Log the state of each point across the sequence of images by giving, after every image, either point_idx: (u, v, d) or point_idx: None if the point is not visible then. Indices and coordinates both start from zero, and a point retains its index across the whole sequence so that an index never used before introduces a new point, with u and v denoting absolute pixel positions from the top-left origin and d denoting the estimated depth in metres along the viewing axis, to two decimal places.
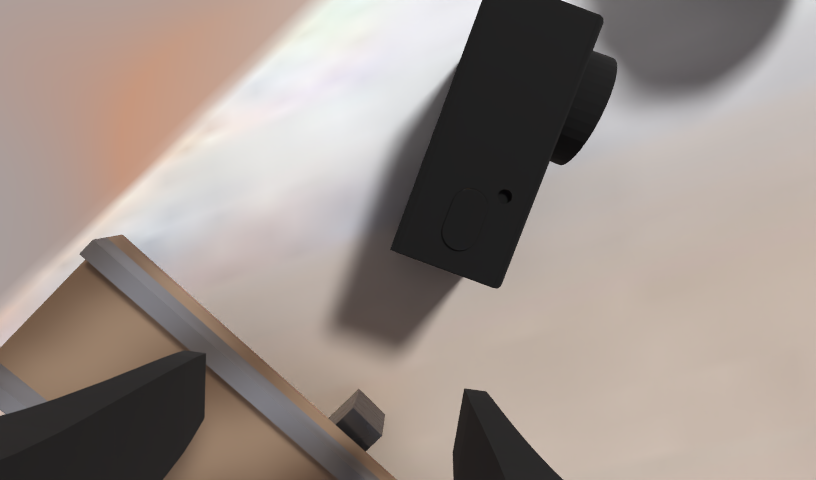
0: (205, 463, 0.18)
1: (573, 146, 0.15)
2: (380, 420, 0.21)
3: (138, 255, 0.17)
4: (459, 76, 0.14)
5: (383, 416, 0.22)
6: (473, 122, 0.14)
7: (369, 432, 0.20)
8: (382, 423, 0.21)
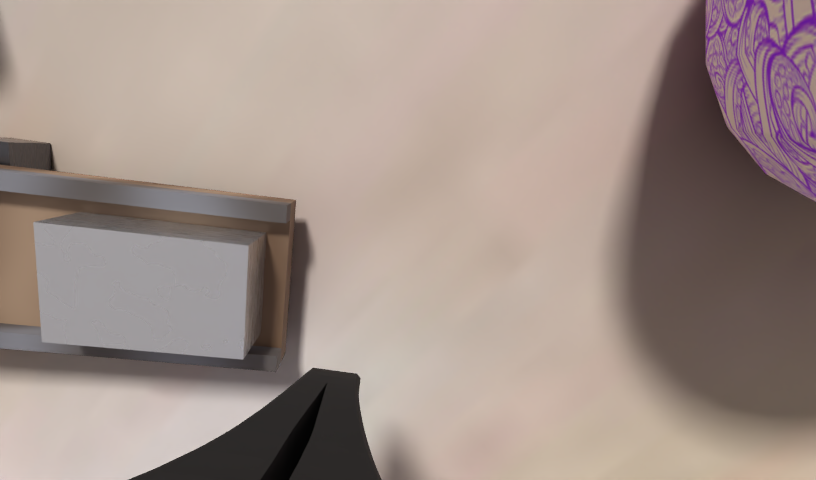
0: None
1: None
2: (27, 142, 0.19)
3: None
4: None
5: (43, 143, 0.20)
6: None
7: None
8: (29, 142, 0.19)
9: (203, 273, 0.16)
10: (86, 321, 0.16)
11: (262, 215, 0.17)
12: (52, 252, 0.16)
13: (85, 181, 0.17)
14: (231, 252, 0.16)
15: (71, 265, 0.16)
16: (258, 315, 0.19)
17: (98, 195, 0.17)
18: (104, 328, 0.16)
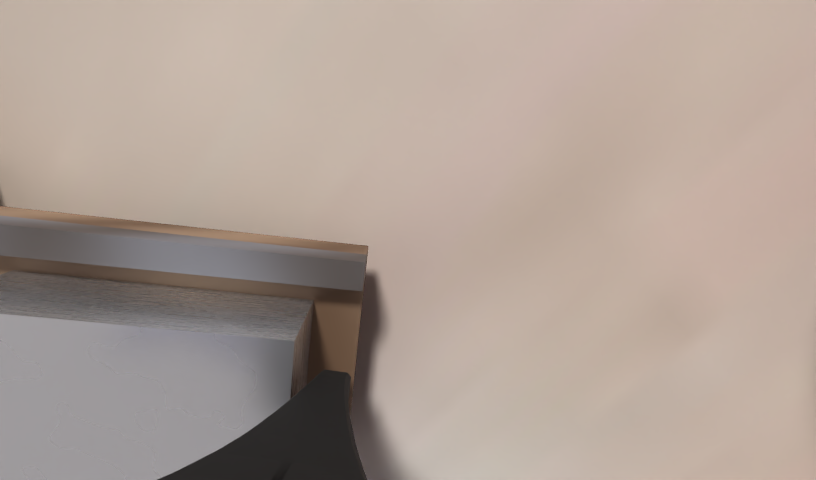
0: None
1: None
2: None
3: None
4: None
5: None
6: None
7: None
8: None
9: (215, 388, 0.09)
10: (11, 469, 0.09)
11: (325, 278, 0.11)
12: None
13: (29, 226, 0.10)
14: (264, 352, 0.09)
15: None
16: None
17: (51, 250, 0.10)
18: (44, 479, 0.10)
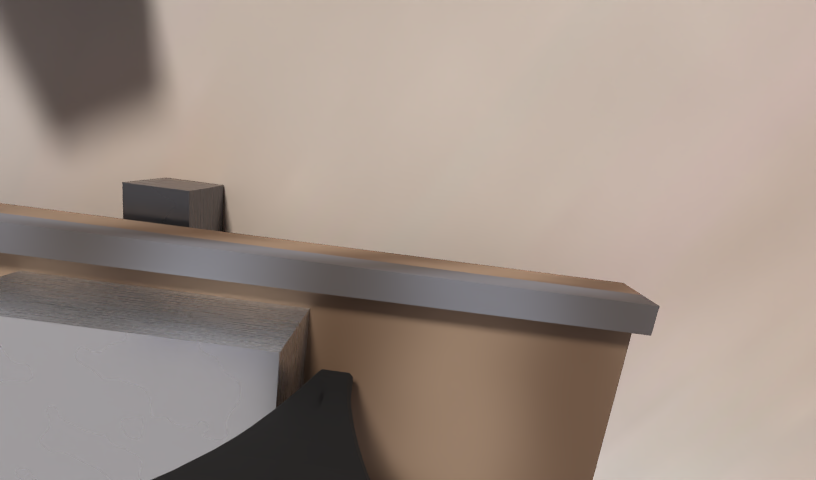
0: None
1: None
2: (202, 186, 0.13)
3: None
4: None
5: (217, 185, 0.14)
6: None
7: (171, 199, 0.12)
8: (205, 187, 0.13)
9: (199, 398, 0.09)
10: (5, 469, 0.10)
11: (614, 321, 0.10)
12: None
13: (329, 263, 0.10)
14: (248, 363, 0.09)
15: None
16: None
17: (348, 286, 0.10)
18: None
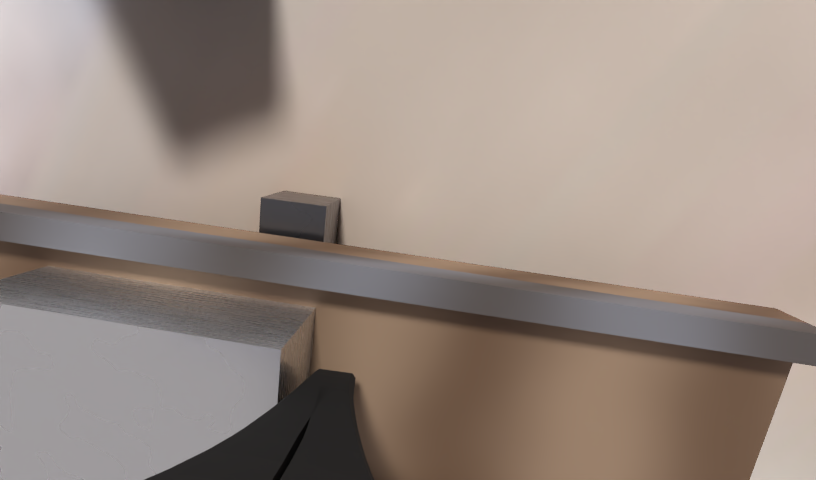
0: None
1: None
2: (327, 200, 0.13)
3: None
4: None
5: (336, 199, 0.14)
6: None
7: (307, 214, 0.12)
8: (331, 201, 0.13)
9: (205, 392, 0.09)
10: (29, 452, 0.10)
11: (785, 351, 0.10)
12: None
13: (484, 283, 0.10)
14: (251, 359, 0.09)
15: (3, 365, 0.10)
16: None
17: (504, 307, 0.10)
18: (55, 464, 0.10)
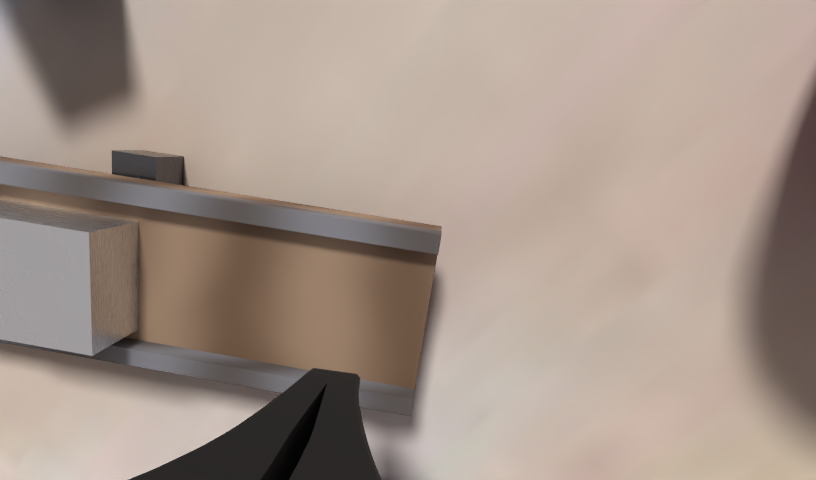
0: None
1: None
2: (166, 156, 0.19)
3: None
4: None
5: (178, 156, 0.20)
6: None
7: (144, 162, 0.18)
8: (168, 156, 0.19)
9: (46, 260, 0.15)
10: None
11: (413, 244, 0.16)
12: None
13: (233, 201, 0.16)
14: (72, 238, 0.15)
15: None
16: (129, 309, 0.17)
17: (245, 216, 0.16)
18: None
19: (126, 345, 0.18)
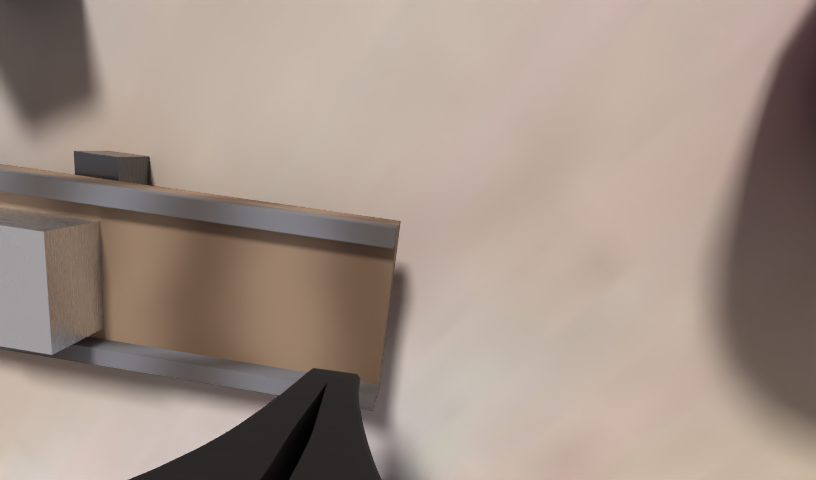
0: None
1: None
2: (130, 155, 0.19)
3: None
4: None
5: (143, 156, 0.20)
6: None
7: (106, 162, 0.18)
8: (132, 156, 0.19)
9: (3, 260, 0.15)
10: None
11: (368, 238, 0.16)
12: None
13: (189, 199, 0.16)
14: (28, 238, 0.15)
15: None
16: (92, 309, 0.18)
17: (201, 213, 0.16)
18: None
19: (90, 344, 0.18)
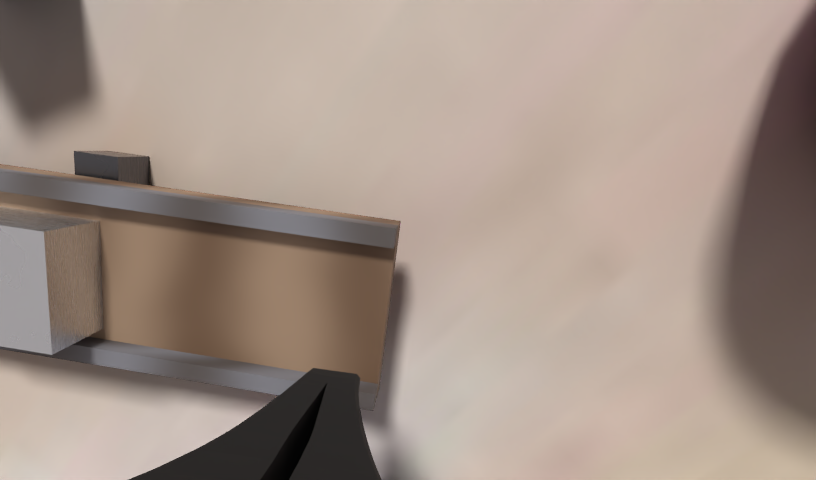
0: None
1: None
2: (130, 155, 0.19)
3: None
4: None
5: (143, 156, 0.20)
6: None
7: (106, 162, 0.18)
8: (132, 156, 0.19)
9: (3, 260, 0.15)
10: None
11: (368, 238, 0.16)
12: None
13: (189, 199, 0.16)
14: (28, 238, 0.15)
15: None
16: (92, 309, 0.18)
17: (201, 213, 0.16)
18: None
19: (90, 344, 0.18)
